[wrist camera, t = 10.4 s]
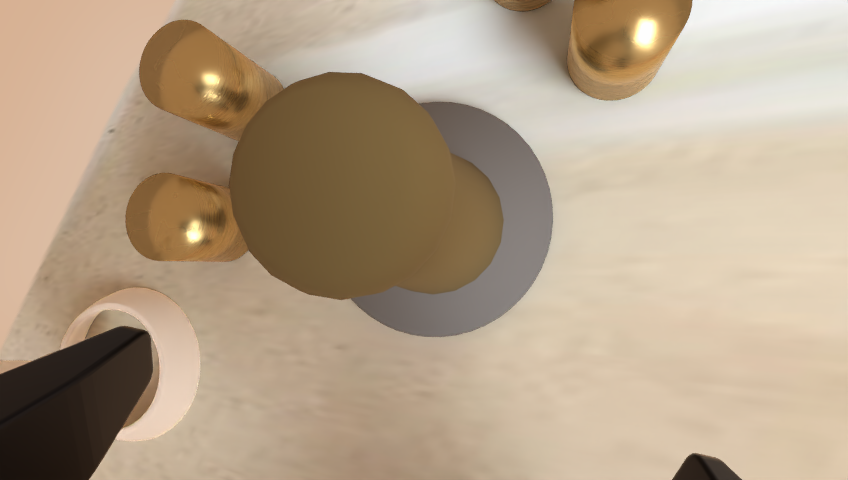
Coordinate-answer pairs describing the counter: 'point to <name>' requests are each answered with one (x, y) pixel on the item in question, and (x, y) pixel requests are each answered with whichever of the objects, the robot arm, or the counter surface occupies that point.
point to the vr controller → (172, 348)
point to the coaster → (521, 235)
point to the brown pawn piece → (360, 193)
